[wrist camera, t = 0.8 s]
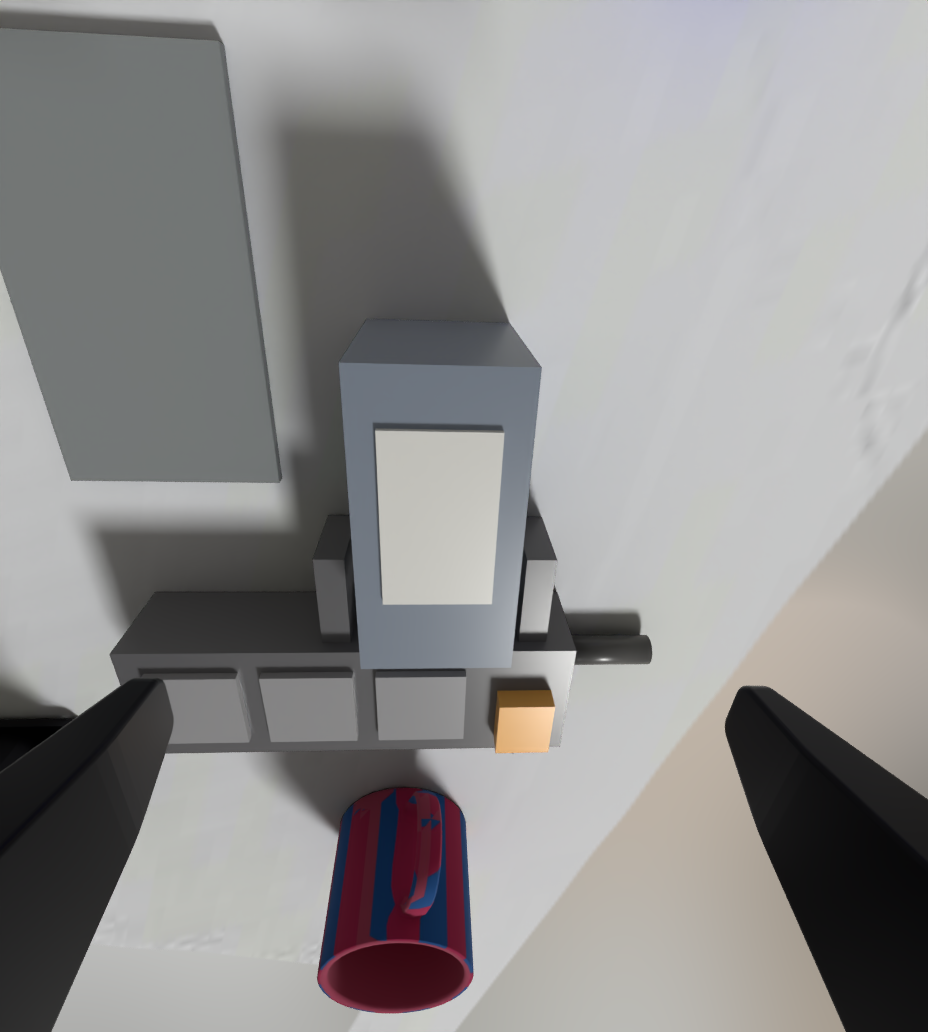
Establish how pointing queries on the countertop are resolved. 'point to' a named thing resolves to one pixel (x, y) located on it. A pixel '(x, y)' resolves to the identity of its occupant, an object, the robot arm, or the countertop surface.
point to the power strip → (354, 668)
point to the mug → (398, 905)
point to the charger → (438, 488)
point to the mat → (133, 256)
